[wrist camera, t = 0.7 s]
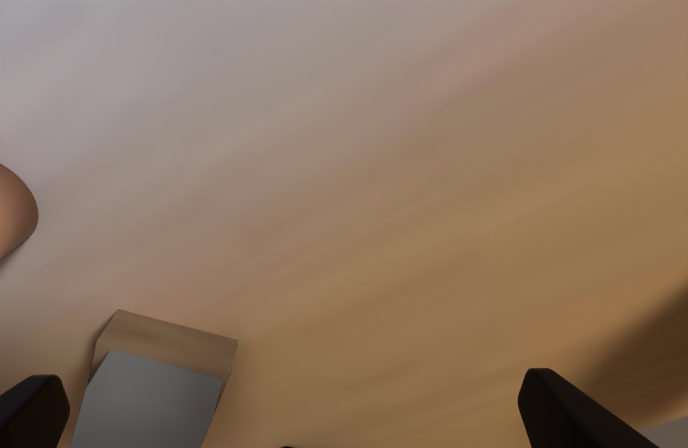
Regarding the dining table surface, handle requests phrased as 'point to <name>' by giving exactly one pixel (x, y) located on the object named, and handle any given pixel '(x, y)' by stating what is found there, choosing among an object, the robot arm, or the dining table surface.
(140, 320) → the walnut block
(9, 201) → the terracotta cylinder
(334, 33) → the dining table surface
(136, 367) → the grey block
